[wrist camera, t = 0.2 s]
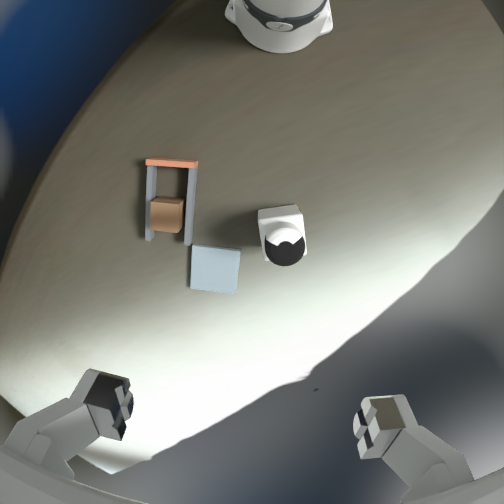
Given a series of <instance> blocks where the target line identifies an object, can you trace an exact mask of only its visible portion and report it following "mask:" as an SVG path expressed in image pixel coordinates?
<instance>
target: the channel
mask: <svg viewBox="0 0 504 504" xmlns="http://www.w3.org/2000/svg"><path fill="white" fill-rule="evenodd" d="M146 165H147V184H146V215H145V240H146V241H151V240H152V239H153V238H154V230H150V211H151V201H153V200H154V199H155V196H156V176H157V166H168V167H182V168H189V175H188V188H187V202H186V218H185V237H184V245H187V246H190V244H191V242H192V236H193V220H194V206H195V193H196V180H197V169H198V161H195V160H183V159H168V158H149V159H146Z"/></svg>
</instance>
